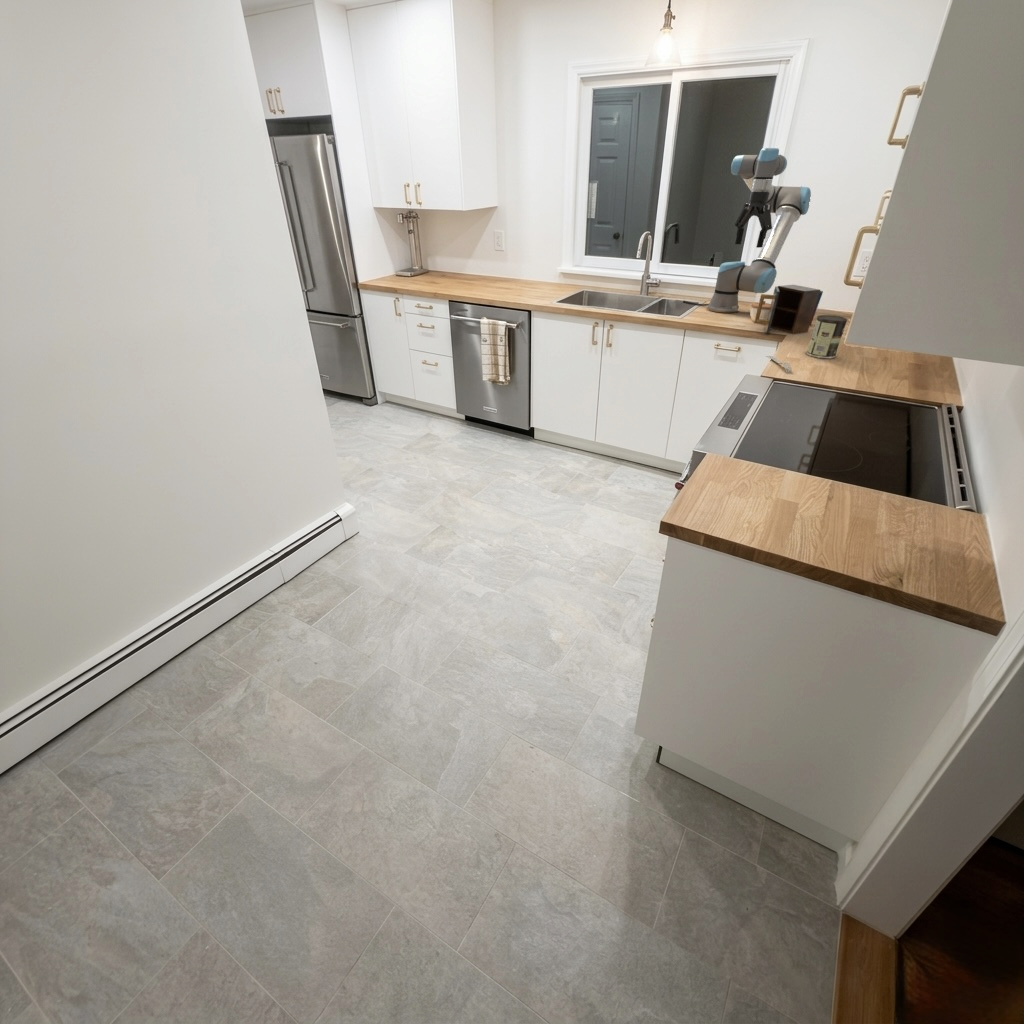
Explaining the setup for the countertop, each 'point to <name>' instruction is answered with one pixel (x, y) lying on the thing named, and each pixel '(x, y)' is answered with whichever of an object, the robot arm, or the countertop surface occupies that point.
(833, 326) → the coffee can
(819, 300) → the brown tall block
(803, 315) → the cupboard
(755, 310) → the trinket box
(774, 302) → the cupboard door
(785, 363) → the fork
